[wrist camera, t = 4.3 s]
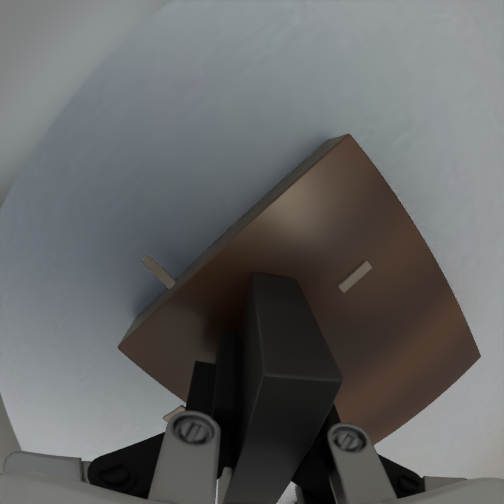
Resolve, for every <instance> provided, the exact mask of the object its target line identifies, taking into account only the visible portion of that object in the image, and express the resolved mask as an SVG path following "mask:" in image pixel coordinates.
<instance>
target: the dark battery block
mask: <svg viewBox="0 0 504 504" xmlns="http://www.w3.org/2000/svg"><path fill="white" fill-rule="evenodd" d="M239 337H241V368H242V411H241V417H240V421H239V424H238V428H237V431H236V435H235V438H234V442H233V446H232V449H231V453H230V456H229V460H228V463H227V466H226V467H224V470H223V473H222V476H221V477H220V478H219V479H218V504H276V503H277V502H278V500H279V499H280V497H281V495H282V494H283V492H284V491H285V489H286V488H287V486H288V485H289V483H290V481H291V480H292V478H293V476H294V475H295V473H296V472H297V470H298V468H299V467H300V465H301V463H302V461H303V460H304V458H305V456H306V454H307V453H308V451H309V449H310V447H311V446H312V444H313V442H314V440H315V438H316V436H317V434H318V433H319V431H320V429H321V427H322V425H323V423H324V421H325V419H326V417H327V415H328V413H329V411H330V409H331V407H332V405H333V403H334V401H335V399H336V397H337V395H338V392H339V390H340V388H341V386H342V384H343V381H344V378H343V376H342V374H341V372H340V370H339V368H338V365H337V363H336V361H335V359H334V357H333V355H332V352H331V350H330V348H329V346H328V344H327V342H326V340H325V338H324V335H323V333H322V331H321V329H320V327H319V325H318V323H317V321H316V319H315V317H314V314H313V312H312V310H311V308H310V306H309V304H308V302H307V300H306V298H305V296H304V294H303V292H302V290H301V288H300V286H299V284H298V281H297V280H296V279H290V278H284V277H278V276H272V275H266V274H261V273H255V272H253V273H252V274H251V279H250V284H249V288H248V293H247V298H246V303H245V308H244V312H243V317H242V322H241V327H240V331H239Z"/></svg>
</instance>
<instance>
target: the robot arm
mask: <svg viewBox="0 0 504 504" xmlns="http://www.w3.org/2000/svg"><path fill="white" fill-rule="evenodd" d="M241 411H242V368H241V337H239V336H237V333H236V332H232V331H226V330H221V335H220V341H219V346H218V352H217V357H216V363H215V364H213V363H207V362H201V361H196V360H195V364H194V369H193V374H192V378H191V383H190V388H189V393H188V398H187V403H186V409H185V411H182V412H179V413H176V414H175V415H173V416H172V417H171V418H170V420H169V422H168V424H167V427H166V431H165V432H163V433H161V434H159V435H156V436H154V437H151V438H149V439H146V440H144V441H141V442H139V443H136V444H133V445H131V446H128V447H125V448H122V449H120V450H117V451H114V452H111V453H108V454H105V455H102V456H100V457H98V458H96V459H94V460H93V461H92V462H91V461H82V460H81V458H75V457H64V456H54V455H46V454H39V453H32V452H26V451H15V452H13V453H10V454H9V455H8V456H7V457H6V459H5V461H4V464H3V473H0V504H215V498H216V485H217V479H219V478H220V477H221V476H222V473H223V470H224V467H226V466H227V463H228V460H229V456H230V453H231V449H232V446H233V442H234V438H235V435H236V431H237V428H238V424H239V421H240V417H241ZM291 481H292V482H293V483H295V484H296V485H295V492H296V497H297V502H298V504H504V479H501V478H476V479H469V480H468V479H465V478H447V477H430V476H424V477H423V478H421V477H420V476H419V475H418V474H416V473H414V472H413V471H411V470H409V469H407V468H405V467H403V466H400V465H398V464H396V463H394V462H393V461H391V460H389V459H387V458H385V457H383V456H381V455H379V454H377V452H376V450H375V448H374V446H373V443H372V441H371V439H370V437H369V435H368V434H367V432H366V431H364V430H363V429H362V428H361V427H359V426H357V425H354V424H351V423H341V421H340V418H339V415H338V412H337V410H336V407H335V404H334V403H333V405H332V407H331V409H330V411H329V413H328V415H327V417H326V419H325V421H324V423H323V425H322V427H321V429H320V431H319V433H318V434H317V436H316V438H315V440H314V442H313V444H312V446H311V447H310V449H309V451H308V453H307V454H306V456H305V458H304V460H303V461H302V463H301V465H300V467H299V468H298V470H297V472H296V473H295V475H294V476H293V478H292V480H291Z"/></svg>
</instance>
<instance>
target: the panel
mask: <svg viewBox="0 0 504 504" xmlns="http://www.w3.org/2000/svg"><path fill="white" fill-rule="evenodd" d="M141 262H142V263H143V264H144V265H145V266H146V267H147V268H148V269H149V270H150V271H151V272H152V273H153V274H154V275H155V276H156V277H157V278H158V279H159V280H160V281H161V282H162V283H163V284H164V285H165V286H166V287H167V288H166V289H165V290H164V291H163V292H162V293H161V294H160V295H159V296H158V297H157V298H156V299H155V300H154V301H153V302H152V303H151V304H150V305H149V306H148V307H147V308H146V309H145V310H144V311H143V312H142V313H141V314H140V315H139V316H138V317H137V318H136V319H135V320H134V321H133V323H132V325H131V326H130V328H129V329H128V331H127V333H126V334H125V336H124V337H123V339H122V341H121V342H120V344H119V345H118V349H119V350H120V351H121V352H122V353H123V354H125V355H126V356H127V357H128V358H129V359H130V360H132V361H133V362H134V363H135V364H136V365H138V366H139V367H140V368H141V369H142V370H144V371H145V372H146V373H147V374H149V375H150V376H151V377H152V378H154V379H155V380H156V381H158V382H159V383H160V384H161V385H163V386H164V387H165V388H167V389H168V390H169V391H171V392H172V393H173V394H175V395H176V396H177V397H179V398H180V399H182V400H183V401H184V402H186V403H187V398H188V393H189V388H190V383H191V378H192V374H193V369H194V364H195V360H196V361H201V362H207V363H213V364H215V363H216V357H217V352H218V346H219V341H220V335H221V330H226V331H232V332H236V333H237V336H239V331H240V327H241V322H242V317H243V312H244V308H245V303H246V298H247V293H248V288H249V284H250V279H251V274H252V273H253V272H255V273H261V274H266V275H272V276H278V277H284V278H290V279H296V280H297V281H298V284H299V286H300V288H301V290H302V292H303V294H304V296H305V298H306V300H307V302H308V304H309V306H310V308H311V310H312V312H313V314H314V317H315V319H316V321H317V323H318V325H319V327H320V329H321V331H322V333H323V335H324V338H325V340H326V342H327V344H328V346H329V348H330V350H331V352H332V355H333V357H334V359H335V361H336V363H337V365H338V368H339V370H340V372H341V374H342V376H343V378H344V381H343V384H342V386H341V388H340V390H339V392H338V395H337V397H336V399H335V401H334V404H335V407H336V410H337V412H338V415H339V418H340V421H341V423H351V424H354V425H357V426H359V427H361V428H362V429H363V430H364V431H366V432H367V434H368V435H369V437H370V439H371V441H372V443H373V445H375V444H376V443H378V442H379V441H381V440H382V439H384V438H385V437H387V436H388V435H390V434H391V433H393V432H394V431H395V430H397V429H398V428H400V427H401V426H402V425H404V424H405V423H406V422H408V421H409V420H410V419H412V418H413V417H414V416H416V415H417V414H418V413H419V412H421V411H422V410H423V409H425V408H426V407H427V406H428V405H429V404H431V403H432V402H433V401H434V400H435V399H437V398H438V397H439V396H440V395H441V394H442V393H444V392H445V391H446V390H447V389H448V388H449V387H450V386H451V385H452V384H454V383H455V382H456V381H457V380H458V379H459V378H460V377H461V376H462V375H463V374H464V373H465V372H466V371H467V370H468V369H469V368H470V367H471V366H472V365H473V364H474V363H475V362H476V361H477V360H478V359H479V358H480V357H481V355H480V353H479V350H478V348H477V345H476V343H475V340H474V338H473V335H472V333H471V331H470V328H469V326H468V324H467V322H466V319H465V317H464V315H463V313H462V311H461V308H460V306H459V304H458V302H457V300H456V298H455V296H454V294H453V292H452V290H451V288H450V286H449V284H448V282H447V280H446V278H445V276H444V274H443V272H442V271H441V269H440V267H439V265H438V263H437V261H436V260H435V258H434V256H433V254H432V252H431V251H430V249H429V247H428V246H427V244H426V242H425V240H424V239H423V237H422V235H421V234H420V232H419V230H418V229H417V227H416V226H415V224H414V222H413V221H412V219H411V218H410V216H409V215H408V213H407V211H406V210H405V208H404V207H403V205H402V204H401V202H400V201H399V199H398V198H397V196H396V195H395V193H394V192H393V191H392V189H391V188H390V186H389V185H388V183H387V182H386V181H385V179H384V178H383V176H382V175H381V174H380V172H379V171H378V170H377V168H376V167H375V165H374V164H373V163H372V161H371V160H370V159H369V158H368V156H367V155H366V154H365V152H364V151H363V150H362V148H361V147H360V146H359V145H358V143H357V142H356V141H355V140H354V138H353V137H352V136H351V135H350V134H346V135H342V136H339V137H335V138H332V139H329V140H327V141H326V142H325V143H324V144H323V145H321V146H320V147H319V148H318V149H317V150H316V151H315V152H313V153H312V154H311V155H310V156H309V157H308V158H307V159H306V160H304V161H303V162H302V163H301V164H300V165H299V166H298V167H296V168H295V169H294V170H293V171H292V172H291V173H290V174H289V175H287V176H286V177H285V178H284V179H283V180H282V181H281V182H280V183H279V184H277V185H276V186H275V187H274V188H273V189H272V190H271V191H270V192H269V193H267V194H266V195H265V196H264V197H263V198H262V199H261V200H260V201H259V202H258V203H256V204H255V205H254V206H253V207H252V208H251V209H250V210H249V211H248V212H247V213H246V214H245V215H243V216H242V217H241V218H240V219H239V220H238V221H237V222H236V223H235V224H234V225H233V226H232V227H230V228H229V229H228V230H227V231H226V232H225V233H224V234H223V235H222V236H221V237H220V238H219V239H218V240H217V241H216V242H214V243H213V244H212V245H211V246H210V247H209V248H208V249H207V250H206V251H205V252H204V253H203V254H202V255H201V256H200V257H199V258H198V259H197V260H195V261H194V262H193V263H192V264H191V265H190V266H189V267H188V268H187V269H186V270H185V271H184V272H183V273H182V274H181V275H180V276H179V277H178V278H177V279H176V280H174V279H173V278H172V277H171V276H170V275H169V274H168V273H167V272H166V271H165V270H164V269H163V268H162V267H161V266H160V265H159V264H158V263H157V262H156V261H155V260H154V259H153V258H152V257H151V256H150V255H149V254H148V255H147V256H146V257H145V258H144V259H143V260H142V261H141ZM185 409H186V407H184V406H183V405H181V406H179V407H178V408H176V409H175V410H173V411H172V412H170V413H168V414H167V415H165V416H164V417H163V419H164V420H165V421H167V422H169V420H170V418H171V417H172V416H173V415H175V414H176V413H179V412H182V411H185Z"/></svg>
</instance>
